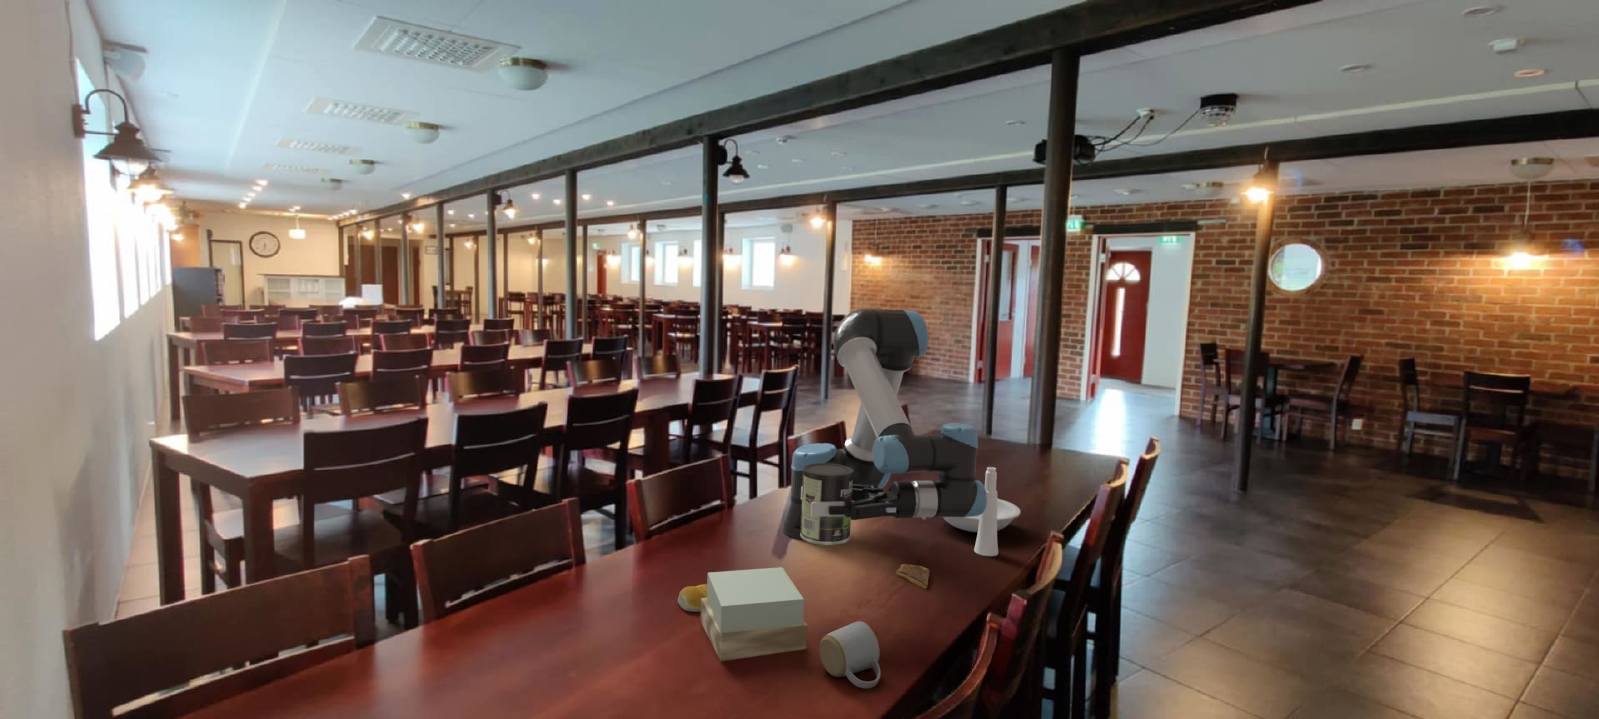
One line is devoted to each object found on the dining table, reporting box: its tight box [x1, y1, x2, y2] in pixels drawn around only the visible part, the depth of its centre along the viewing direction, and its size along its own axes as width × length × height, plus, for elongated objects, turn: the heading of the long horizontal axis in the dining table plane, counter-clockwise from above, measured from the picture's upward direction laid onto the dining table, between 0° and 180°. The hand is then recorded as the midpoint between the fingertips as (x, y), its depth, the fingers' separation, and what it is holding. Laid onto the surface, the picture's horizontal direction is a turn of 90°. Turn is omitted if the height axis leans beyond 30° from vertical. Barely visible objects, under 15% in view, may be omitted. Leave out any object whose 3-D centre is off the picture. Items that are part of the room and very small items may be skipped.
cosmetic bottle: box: [973, 466, 999, 557], centre depth 184 cm, size 6×6×22 cm
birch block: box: [700, 598, 808, 662], centre depth 136 cm, size 16×16×5 cm
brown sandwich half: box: [895, 563, 930, 590], centre depth 166 cm, size 11×8×2 cm
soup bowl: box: [942, 498, 1021, 533], centre depth 203 cm, size 24×24×7 cm
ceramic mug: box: [818, 620, 881, 690], centre depth 123 cm, size 11×8×8 cm
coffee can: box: [800, 463, 854, 546], centre depth 146 cm, size 10×10×14 cm
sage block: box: [706, 566, 805, 633], centre depth 135 cm, size 15×15×5 cm
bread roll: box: [677, 583, 707, 613], centre depth 149 cm, size 8×9×4 cm
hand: (806, 501), depth 146 cm, fingers closed on coffee can, 10 cm apart
